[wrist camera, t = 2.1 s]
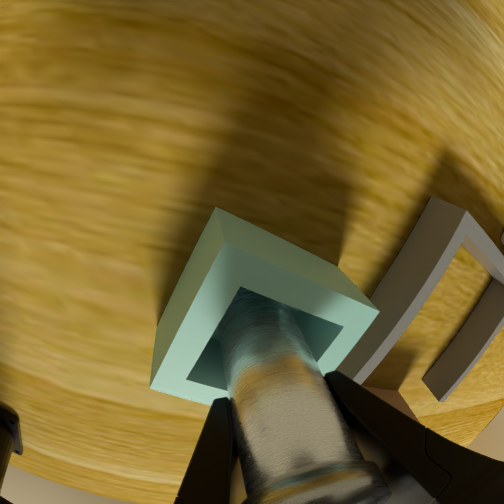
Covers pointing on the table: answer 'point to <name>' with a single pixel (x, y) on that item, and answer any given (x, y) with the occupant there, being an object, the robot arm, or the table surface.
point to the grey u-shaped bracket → (419, 289)
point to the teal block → (262, 282)
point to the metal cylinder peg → (288, 413)
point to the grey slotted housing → (502, 238)
